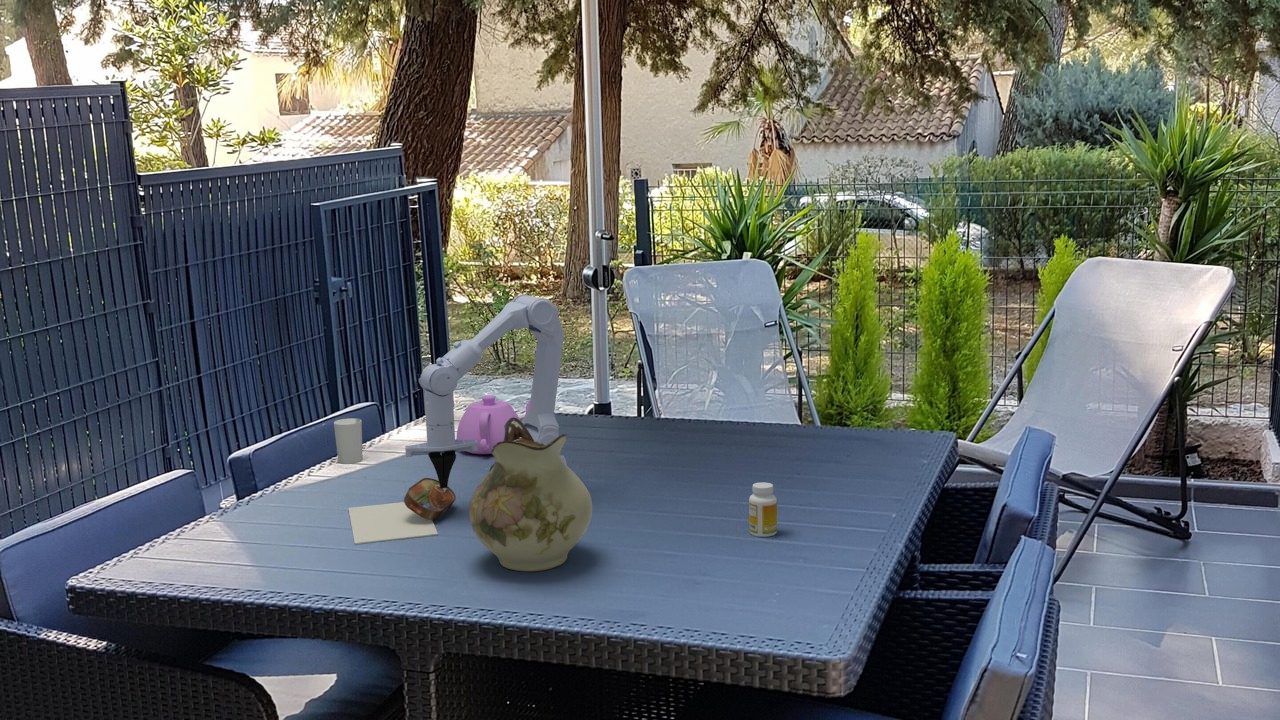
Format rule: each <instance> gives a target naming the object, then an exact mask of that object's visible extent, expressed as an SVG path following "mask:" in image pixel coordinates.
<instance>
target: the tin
mask: <svg viewBox="0 0 1280 720" xmlns="http://www.w3.org/2000/svg"><path fill="white" fill-rule="evenodd" d="M456 499H457V496H456V494H455V492H454V490H452V488H450V487H449V486H448V488H440V485H439V480H437V479H435V478H432V477H424V478H422V479H420V480H419V481H417V482H415V483H414V484H413V485H411V486H410V487H409V488H408V489H407V492H406V494H405V496H404V499H403V502H404V503H405V505H406V506H407V508H409V509H410V510H412V511H413V512H414V513H416V514H418V515H419V516H421V517H422V518H425V519H429V520H432V521H434V520H437V519H439V518H440V517H441V516H442V515H444V514H445V513H446V512H447V511H448V510H450V508H451V507H452V505H453V504H454V502H455V501H456Z"/></svg>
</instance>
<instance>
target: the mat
mask: <svg viewBox="0 0 1280 720" xmlns="http://www.w3.org/2000/svg"><path fill="white" fill-rule="evenodd" d="M348 514H349V520H350V525H351V531H352V537H353V543H354V545H361V544H363V545H364V544H370V543H371V544H372V543H380V542H381V543H382V542H390V541H400V540H408V538H409V539H414V538H415V539H416V538H424V537H435V536H439V533H438V531H437V528H436V525H435V523H434V522H433V521H434V520H429V519H425V518H422V517H421V516H419V515H418V514H416V513H414V512H413V511H412V510H410V509H409V508H407V506H406V505H405V503H404V501H401V502H393V503H392V502H391V503H383V504H373V505H364V506H355V507H354V506H353V507H348Z"/></svg>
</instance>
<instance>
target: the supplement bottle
mask: <svg viewBox="0 0 1280 720" xmlns="http://www.w3.org/2000/svg"><path fill="white" fill-rule="evenodd" d="M773 493H774V484H773V483H770V482H763V481H762V482H755V483H753V484H752V494H751V495H749V499H748V515H749V516H748V517H749V518H748V523H749V524H748V529H749V534H750V535H752V536H754V537H760V538H767V537H772V536H775V535H776V534H777V532H778V514H777V513H778V508H777V507H778V501H777V499H778V498H777V497H776V495H775V494H773Z"/></svg>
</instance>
